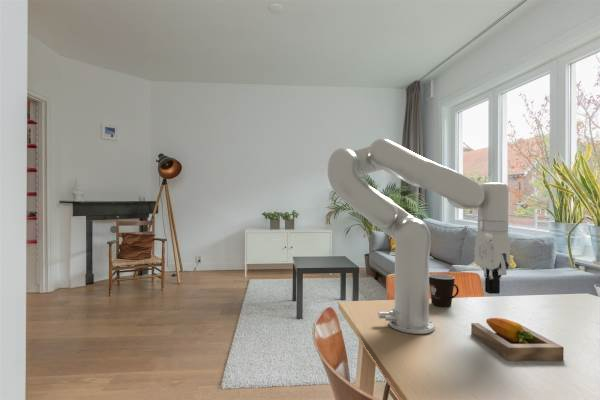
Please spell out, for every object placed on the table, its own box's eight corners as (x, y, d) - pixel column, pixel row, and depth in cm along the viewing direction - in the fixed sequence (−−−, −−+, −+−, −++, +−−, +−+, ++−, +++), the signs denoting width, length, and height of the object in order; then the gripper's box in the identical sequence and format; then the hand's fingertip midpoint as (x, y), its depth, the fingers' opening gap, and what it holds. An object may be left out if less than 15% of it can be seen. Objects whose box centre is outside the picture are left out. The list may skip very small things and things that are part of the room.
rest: (508, 360, 79) (508, 347, 79) (471, 334, 95) (471, 323, 95) (563, 360, 80) (563, 347, 80) (517, 333, 95) (517, 322, 96)
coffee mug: (425, 300, 127) (426, 273, 127) (450, 301, 126) (450, 274, 126) (433, 310, 116) (433, 280, 116) (460, 311, 114) (460, 281, 114)
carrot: (490, 331, 99) (536, 352, 85) (476, 325, 98) (520, 346, 84) (496, 315, 100) (542, 333, 85) (482, 309, 99) (526, 326, 84)
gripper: (465, 225, 104) (465, 286, 104) (495, 229, 89) (495, 300, 89) (490, 225, 104) (489, 286, 104) (524, 229, 89) (523, 300, 89)
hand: (492, 292), depth 96 cm, fingers closed
